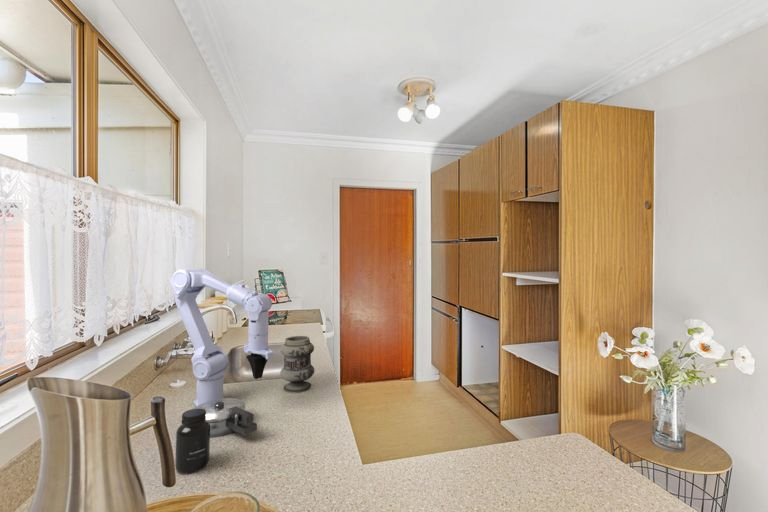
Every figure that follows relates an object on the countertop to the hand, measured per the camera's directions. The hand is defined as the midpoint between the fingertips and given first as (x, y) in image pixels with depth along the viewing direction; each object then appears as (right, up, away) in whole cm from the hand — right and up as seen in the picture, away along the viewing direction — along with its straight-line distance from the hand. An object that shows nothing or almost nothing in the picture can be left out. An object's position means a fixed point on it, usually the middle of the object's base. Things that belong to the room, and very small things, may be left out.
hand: (257, 377), depth 108 cm
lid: (-4, -6, -12) cm, 14 cm away
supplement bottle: (-4, -10, -29) cm, 31 cm away
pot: (-4, -10, -12) cm, 16 cm away
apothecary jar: (+8, -10, +19) cm, 23 cm away
